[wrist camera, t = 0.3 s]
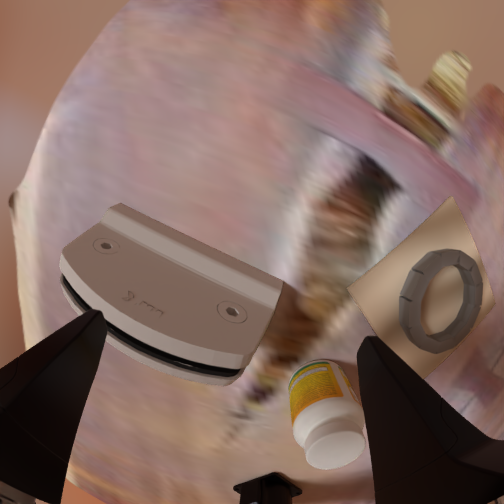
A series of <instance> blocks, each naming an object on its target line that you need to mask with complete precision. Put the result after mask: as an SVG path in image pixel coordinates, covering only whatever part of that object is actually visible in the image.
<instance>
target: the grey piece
mask: <svg viewBox="0 0 504 504" xmlns="http://www.w3.org/2000/svg"><path fill="white" fill-rule="evenodd" d="M60 270H61V271H62V275H61V276H60V283H61V287H62V290H63V293H64V295H65V297H66V298H67V300H68V302H69V303H70V305H71V306H72V307H73V309H74V310H75V311H76V313H77V314H78V315H79V316H80V315H82V314H83V313H85V312H86V311H88V310H90V309H97V310H100V311H102V312H103V315H104V318H105V321H106V325H107V329H108V332H107V336H106V340H105V341H107V342H108V343H109V344H110V345H112V346H113V347H115V348H116V349H118V350H119V351H121V352H122V353H124V354H126V355H127V356H129V357H131V358H133V359H135V360H136V361H138V362H140V363H142V364H145V365H147V366H149V367H151V368H153V369H156V370H158V371H161V372H164V373H166V374H169V375H172V376H175V377H179V378H182V379H185V380H189V381H194V382H199V383H204V384H210V385H218V386H227V385H230V384H231V383H233V382H234V381H235V380H237V379H238V378H239V377H240V376H241V375H242V374H243V372H244V370H245V368H246V366H247V365H248V364H249V363H250V361H251V359H252V357H253V355H254V353H255V352H256V350H257V348H258V346H259V344H260V342H261V340H262V338H263V335H264V333H265V331H266V329H267V327H268V325H269V323H270V321H271V319H272V317H273V315H274V312H275V309H276V306H277V303H278V300H279V297H280V294H281V291H282V286H283V281H282V280H280V279H278V278H276V277H274V276H272V275H269V274H267V273H265V272H263V271H261V270H259V269H257V268H254V267H252V266H250V265H248V264H246V263H244V262H242V261H240V260H237V259H235V258H233V257H231V256H229V255H227V254H225V253H223V252H221V251H218V250H216V249H214V248H212V247H210V246H208V245H206V244H204V243H202V242H200V241H197V240H195V239H193V238H191V237H189V236H187V235H185V234H183V233H181V232H179V231H177V230H175V229H173V228H170V227H168V226H166V225H164V224H162V223H160V222H158V221H156V220H154V219H152V218H150V217H148V216H146V215H144V214H142V213H140V212H138V211H136V210H134V209H131V208H129V207H127V206H125V205H123V204H121V203H119V204H117V205H114V206H112V207H110V208H109V209H108V210H107V211H106V213H105V214H104V216H103V218H102V219H101V221H100V222H99V223H98V224H96V225H95V226H93V227H92V228H90V229H89V230H87V231H86V232H85V233H83V234H82V235H80V236H79V237H77V238H76V239H75V240H73V241H72V242H71V243H69V244H68V245H67V246H65V247H64V248H63V250H62V254H61V259H60Z"/></svg>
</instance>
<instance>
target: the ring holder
mask: <svg viewBox="0 0 504 504" xmlns="http://www.w3.org/2000/svg"><path fill="white" fill-rule="evenodd" d="M346 289H347V290H348V292H349V293H350V295H351V296H352V298H353V299H354V301H355V302H356V304H357V305H358V307H359V308H360V310H361V311H362V313H363V314H364V316H365V317H366V319H367V321H368V322H369V324H370V325H371V327H372V328H373V330H374V332H375V333H376V335H377V336H378V337H379V338H380V339H381V340H382V341H383V342H384V343H385V344H387V345H388V346H389V347H390V348H391V349H392V350H393V351H394V352H395V353H396V354H397V355H398V356H399V357H400V358H401V359H403V360H404V361H405V362H406V363H407V364H408V365H409V366H410V367H411V368H412V369H413V370H414V371H415V372H416V373H417V374H418V375H419V376H420V377H421V378H423V379H424V378H425V377H427V376H428V375H429V374H430V373H431V372H432V371H433V370H434V369H436V368H437V367H438V366H439V365H440V364H441V363H442V362H443V361H444V360H445V359H446V358H447V357H448V356H449V355H450V354H451V353H452V352H453V351H454V350H455V349H456V348H457V347H458V346H459V345H460V344H461V343H462V342H463V341H464V340H465V339H466V338H467V337H468V336H469V335H470V334H471V332H472V331H473V330H474V329H475V328H476V327H477V326H478V325H479V323H480V322H481V321H482V320H483V319H484V317H485V316H486V315H487V314H488V313H489V311H490V310H491V309H492V308H493V306H494V305H495V300H494V297H493V293H492V290H491V287H490V284H489V280H488V277H487V274H486V272H485V269H484V266H483V263H482V260H481V258H480V255H479V253H478V250H477V248H476V245H475V243H474V240H473V238H472V236H471V233H470V231H469V229H468V227H467V224H466V222H465V220H464V218H463V216H462V214H461V212H460V210H459V208H458V206H457V204H456V202H455V200H454V198H453V196H449V197H448V198H447V199H446V200H445V201H444V202H443V203H442V204H441V205H440V206H439V207H438V208H437V209H436V210H435V211H434V212H433V213H432V214H431V215H430V216H429V217H428V218H427V219H426V220H425V221H424V222H423V223H422V224H421V225H420V226H419V227H418V228H417V229H415V230H414V231H413V232H412V233H411V234H410V235H409V236H408V237H407V238H406V239H405V240H403V241H402V242H401V243H400V244H399V245H398V246H397V247H396V248H394V249H393V250H392V251H391V252H390V253H389V254H388V255H386V256H385V257H384V258H383V259H382V260H381V261H379V262H378V263H377V264H376V265H375V266H373V267H372V268H371V269H370V270H369V271H367V272H366V273H365V274H364V275H362V276H361V277H360V278H359V279H357V280H356V281H355V282H354V283H352V284H351V285H350V286H349V287H347V288H346Z"/></svg>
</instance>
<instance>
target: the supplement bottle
mask: <svg viewBox="0 0 504 504" xmlns="http://www.w3.org/2000/svg"><path fill="white" fill-rule="evenodd" d="M289 398H290V408H291V418H292V427H293V434H294V438H295V440H296V441H297V443H298V444H299V445H300V446H301V447H303V448H304V451H305V455H306V459H307V462H308V463H309V464H310V465H311V466H313V467H315V468H318V469H324V470H325V469H327V470H329V469H335V468H339V467H343V466H345V465H347V464H349V463H351V462H353V461H354V460H355V459H357V458H358V457H359V456H360V455H361V453H362V452H363V451H364V448H365V445H366V441H365V437H364V435H363V432H362V429H363V427H364V423H365V417H364V412H363V409H362V407H361V404H360V402H359V400H358V398H357V396H356V394H355V392H354V391H353V388H352V387H351V385H350V382H349V380H348V379H347V377H346V375H345V373H344V371H343V370H342V368H341V367H340V366H339V365H337V364H336V363H334V362H332V361H328V360H316V361H311V362H308V363H306V364H304V365H302V366H301V367H299V368H298V369H297V370H296V371H295V372H294V373H293V375H292V376H291V378H290V381H289Z"/></svg>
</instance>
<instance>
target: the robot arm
mask: <svg viewBox="0 0 504 504" xmlns="http://www.w3.org/2000/svg"><path fill="white" fill-rule="evenodd" d="M107 332H108V329H107V325H106V321H105V318H104V315H103V312H102V311H100V310H97V309H90V310H88V311H86V312H85V313H83V314H82V315H80V316H79V317H77V318H75V319H74V320H72V321H71V322H69V323H68V324H66V325H65V326H63V327H62V328H60V329H58V330H57V331H55V332H54V333H52V334H51V335H49V336H48V337H46V338H45V339H43V340H42V341H40V342H39V343H37V344H36V345H35V346H33V347H32V348H30V349H29V350H27V351H26V352H24V353H23V354H21V355H20V356H19V357H17V358H16V359H14V360H13V361H11V362H10V363H8V364H7V365H5V366H4V367H2V368H1V369H0V504H36V502H35V500H36V498H37V499H39V500H42V501H44V502H47V503H49V504H60V503H61V497H62V492H63V487H64V482H65V477H66V473H67V468H68V463H69V459H70V455H71V451H72V447H73V443H74V440H75V436H76V433H77V429H78V426H79V422H80V419H81V416H82V413H83V410H84V407H85V403H86V400H87V398H88V395H89V392H90V389H91V386H92V383H93V380H94V378H95V375H96V372H97V369H98V366H99V362H100V358H101V354H102V351H103V347H104V343H105V340H106V336H107ZM357 365H358V375H359V386H360V395H361V401H362V407H363V412H364V417H365V423H366V429H367V435H368V442H369V448H370V455H371V463H372V471H373V479H374V489H375V501H376V504H504V440H496V439H492V438H490V437H488V436H486V435H485V434H484V433H482V432H481V431H480V430H479V429H477V428H476V427H475V426H474V425H473V424H471V423H470V422H469V421H468V420H466V419H465V418H464V417H463V416H462V415H461V414H459V413H458V412H457V411H456V410H455V409H454V408H453V407H452V406H451V405H450V404H448V403H447V402H446V401H445V400H444V399H443V398H441V396H440V395H439V394H438V393H437V392H436V391H435V390H434V389H433V388H432V387H431V386H430V385H429V384H428V383H427V382H426V381H425V380H424V379H423V378H421V377H420V376H419V375H418V374H417V373H416V372H415V371H414V370H413V369H412V368H411V367H410V366H409V365H408V364H407V363H406V362H405V361H404V360H403V359H401V358H400V357H399V356H398V355H397V354H396V353H395V352H394V351H393V350H392V349H391V348H390V347H389V346H388V345H387V344H385V343H384V342H383V341H382V340H381V339H380V338H379V337H378V336H366V337H365V338H364V340H363V342H362V344H361V346H360V348H359V350H358V352H357ZM233 490H234V491H236V492H237V493H239V494H241V495H240V503H239V504H292V497H295V496H298V495H300V494H302V490H301V489H299V488H298V487H296V486H295V485H293V484H292V483H290V482H289V481H287V480H286V479H284V478H283V477H282V476H280V475H279V474H277V473H270V474H268V475H265V476H262V477H259V478H257V479H254V480H251V481H248V482H245V483H242V484H238V485H235V486H234V487H233Z"/></svg>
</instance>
